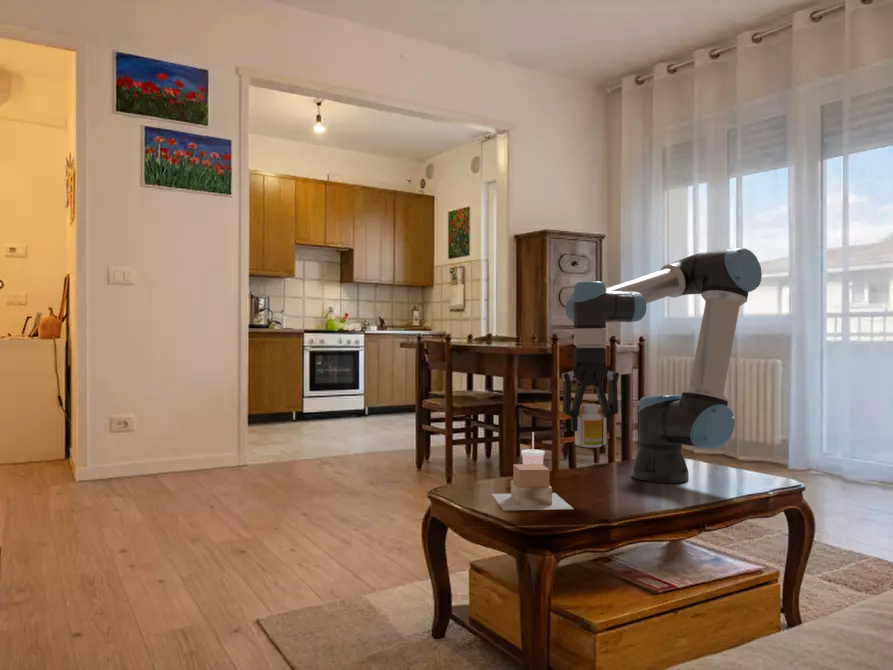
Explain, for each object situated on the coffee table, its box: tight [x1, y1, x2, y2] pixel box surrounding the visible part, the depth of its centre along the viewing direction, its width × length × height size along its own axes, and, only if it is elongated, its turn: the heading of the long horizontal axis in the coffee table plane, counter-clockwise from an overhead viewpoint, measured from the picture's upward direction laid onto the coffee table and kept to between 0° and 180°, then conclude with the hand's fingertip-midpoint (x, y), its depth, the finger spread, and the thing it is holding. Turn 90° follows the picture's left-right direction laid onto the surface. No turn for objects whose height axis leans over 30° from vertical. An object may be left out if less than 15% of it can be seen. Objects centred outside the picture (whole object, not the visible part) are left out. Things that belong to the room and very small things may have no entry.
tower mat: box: [491, 492, 575, 511], centre depth 157 cm, size 16×16×1 cm
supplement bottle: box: [578, 403, 603, 448], centre depth 159 cm, size 5×5×10 cm
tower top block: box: [512, 463, 551, 487], centre depth 157 cm, size 7×7×4 cm
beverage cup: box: [521, 431, 546, 465], centre depth 177 cm, size 6×6×14 cm
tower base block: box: [510, 480, 553, 506], centre depth 157 cm, size 8×8×4 cm
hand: (590, 444), depth 159 cm, fingers closed on supplement bottle, 5 cm apart
